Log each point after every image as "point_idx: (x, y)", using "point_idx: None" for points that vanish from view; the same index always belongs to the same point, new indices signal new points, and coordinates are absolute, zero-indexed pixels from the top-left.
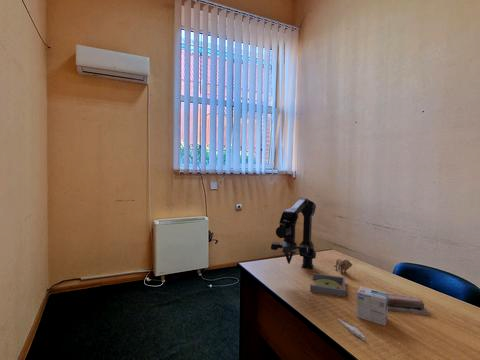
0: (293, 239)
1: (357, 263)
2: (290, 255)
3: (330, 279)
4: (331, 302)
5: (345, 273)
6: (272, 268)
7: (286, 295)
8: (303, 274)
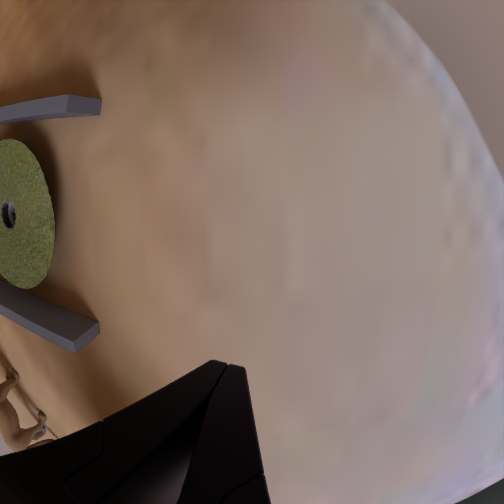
0: None
1: None
2: (65, 489)
3: (12, 295)
4: (30, 23)
5: (7, 376)
6: (392, 459)
7: None
8: None
